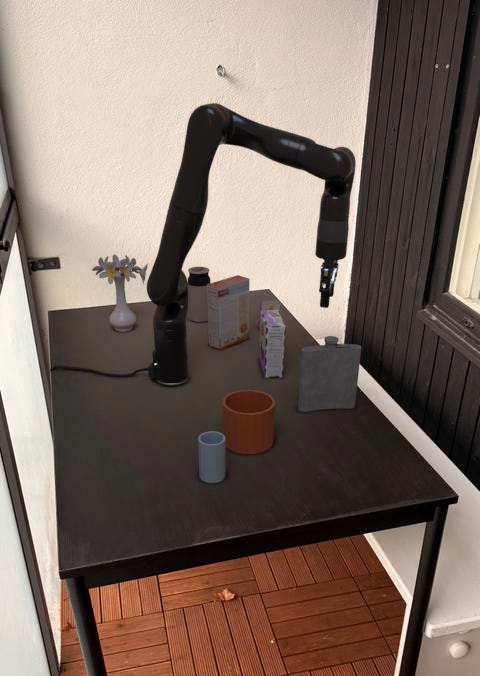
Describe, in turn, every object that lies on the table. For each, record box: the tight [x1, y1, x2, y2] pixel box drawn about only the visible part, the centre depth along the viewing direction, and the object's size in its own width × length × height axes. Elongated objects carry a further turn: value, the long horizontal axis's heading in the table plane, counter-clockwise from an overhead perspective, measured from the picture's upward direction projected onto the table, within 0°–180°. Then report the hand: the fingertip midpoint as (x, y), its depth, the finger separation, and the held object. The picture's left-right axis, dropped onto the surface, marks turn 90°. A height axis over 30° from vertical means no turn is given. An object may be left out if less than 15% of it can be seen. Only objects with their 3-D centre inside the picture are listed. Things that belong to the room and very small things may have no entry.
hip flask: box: [297, 335, 362, 413], centre depth 171 cm, size 16×4×20 cm, turn 99°
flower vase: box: [91, 254, 149, 333], centre depth 219 cm, size 13×18×25 cm
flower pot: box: [221, 389, 276, 455], centre depth 158 cm, size 13×13×11 cm
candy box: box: [259, 310, 286, 379], centre depth 193 cm, size 14×6×16 cm, turn 5°
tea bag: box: [258, 299, 281, 330], centre depth 223 cm, size 4×7×10 cm, turn 98°
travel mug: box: [187, 266, 211, 323], centre depth 229 cm, size 8×8×18 cm
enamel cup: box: [197, 430, 227, 484], centre depth 145 cm, size 6×6×10 cm
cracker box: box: [207, 274, 250, 350], centre depth 210 cm, size 14×6×21 cm, turn 135°
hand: (326, 301), depth 164 cm, fingers open, 8 cm apart
